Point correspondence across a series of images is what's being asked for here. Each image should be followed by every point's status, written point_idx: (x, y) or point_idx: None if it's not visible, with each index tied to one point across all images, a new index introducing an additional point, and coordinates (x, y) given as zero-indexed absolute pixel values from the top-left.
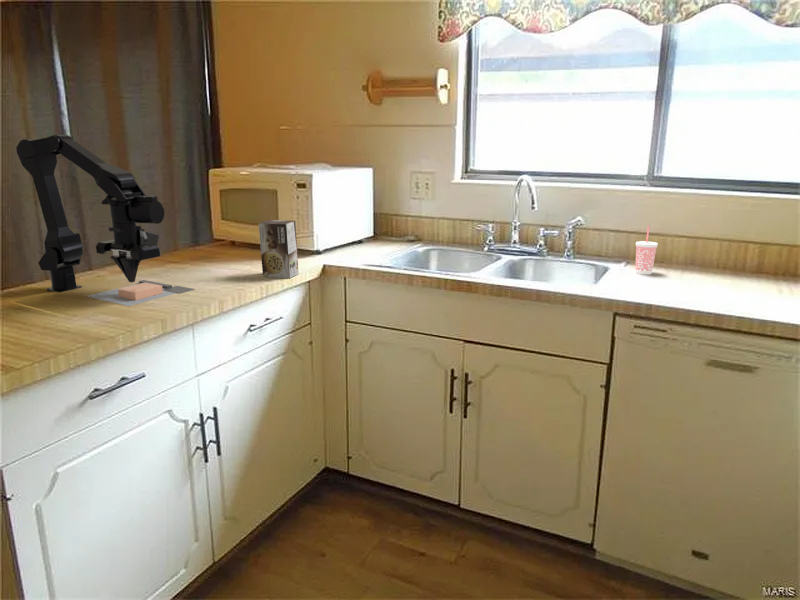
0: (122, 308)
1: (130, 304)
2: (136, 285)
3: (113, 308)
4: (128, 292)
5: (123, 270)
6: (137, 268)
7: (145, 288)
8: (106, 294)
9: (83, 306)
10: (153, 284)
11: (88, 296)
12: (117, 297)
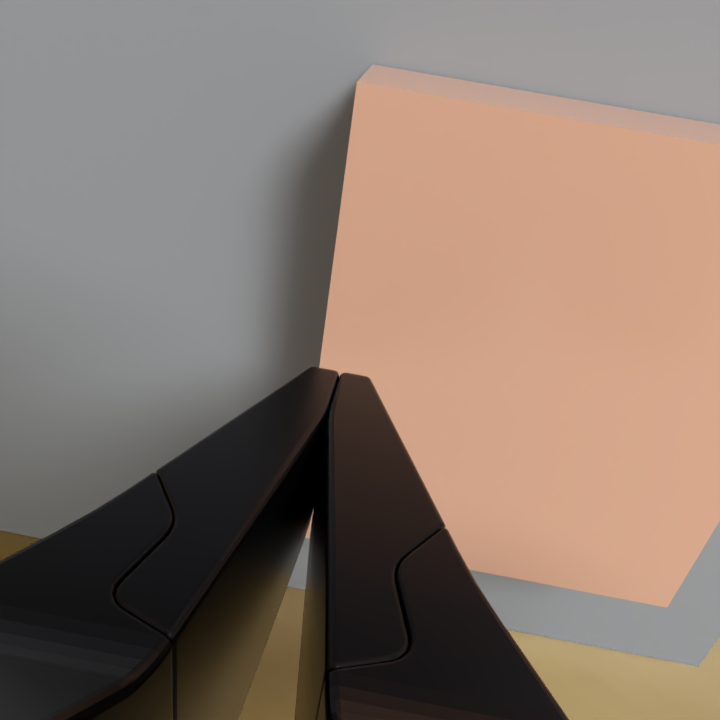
0: (637, 671)
1: (678, 633)
2: (385, 321)
3: (552, 681)
4: (524, 567)
5: (242, 691)
6: (457, 557)
7: (685, 425)
8: (97, 432)
9: (254, 682)
10: (661, 159)
11: (19, 528)
12: None
